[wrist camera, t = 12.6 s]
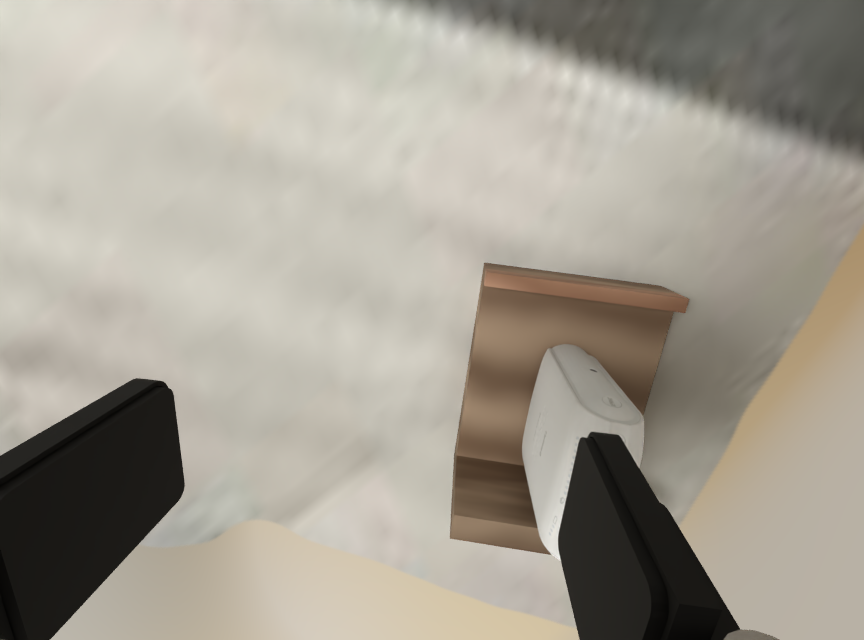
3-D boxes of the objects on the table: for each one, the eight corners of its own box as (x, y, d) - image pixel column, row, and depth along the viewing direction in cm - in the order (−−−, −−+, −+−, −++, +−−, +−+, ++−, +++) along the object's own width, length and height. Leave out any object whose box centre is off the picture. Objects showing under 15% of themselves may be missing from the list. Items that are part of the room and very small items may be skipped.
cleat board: (484, 262, 34) (490, 288, 24) (660, 286, 33) (738, 321, 24) (454, 455, 39) (449, 538, 30) (606, 478, 38) (652, 571, 29)
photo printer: (542, 337, 32) (586, 418, 20) (599, 346, 32) (675, 434, 20) (514, 452, 35) (537, 582, 23) (565, 462, 35) (615, 597, 23)
